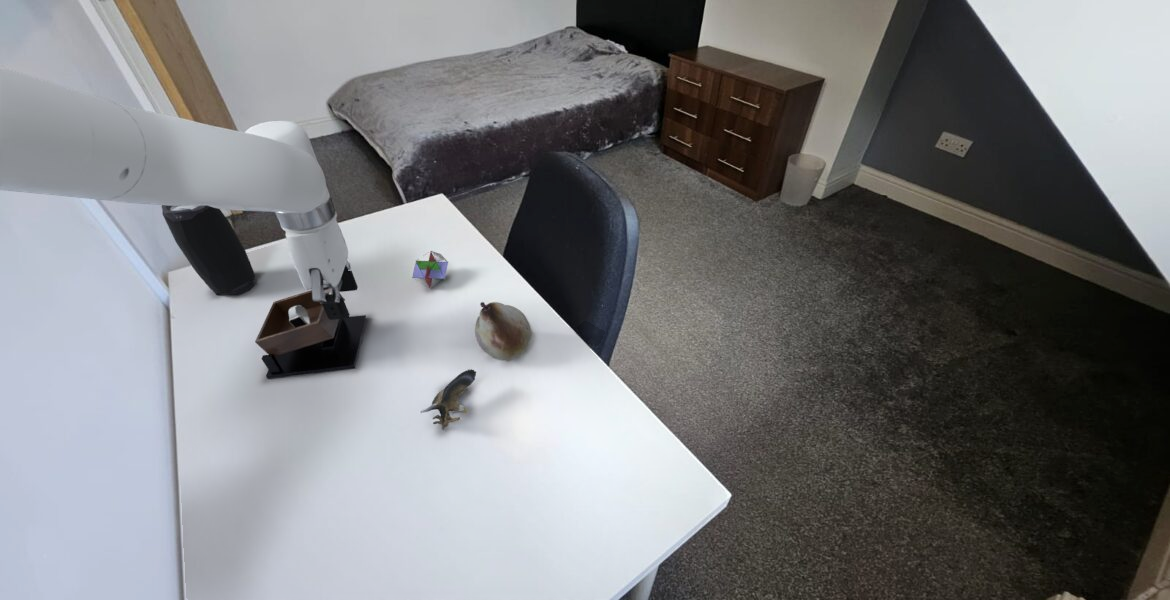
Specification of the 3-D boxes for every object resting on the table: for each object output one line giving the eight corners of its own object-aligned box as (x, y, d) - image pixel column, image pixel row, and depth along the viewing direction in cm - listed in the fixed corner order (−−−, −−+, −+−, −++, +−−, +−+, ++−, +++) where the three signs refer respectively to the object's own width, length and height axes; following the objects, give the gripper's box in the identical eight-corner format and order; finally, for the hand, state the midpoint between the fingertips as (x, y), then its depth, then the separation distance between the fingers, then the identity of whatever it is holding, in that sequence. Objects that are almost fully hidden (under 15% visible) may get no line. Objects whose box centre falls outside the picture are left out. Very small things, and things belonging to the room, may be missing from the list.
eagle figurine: (478, 429, 72) (488, 376, 77) (444, 410, 67) (457, 356, 73) (442, 437, 75) (454, 387, 81) (408, 420, 70) (423, 368, 76)
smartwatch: (302, 319, 83) (287, 304, 80) (314, 315, 83) (300, 299, 80) (299, 333, 80) (284, 317, 77) (312, 328, 80) (297, 313, 77)
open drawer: (271, 357, 78) (244, 333, 74) (288, 317, 86) (264, 292, 82) (352, 332, 78) (329, 306, 74) (361, 294, 85) (342, 268, 81)
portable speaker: (265, 270, 101) (221, 187, 89) (250, 298, 95) (200, 213, 82) (221, 273, 100) (171, 190, 87) (203, 302, 93) (145, 216, 80)
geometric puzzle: (441, 290, 95) (441, 250, 94) (407, 289, 95) (407, 249, 94) (451, 288, 102) (452, 251, 101) (419, 287, 102) (420, 250, 101)
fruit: (468, 345, 86) (458, 295, 78) (511, 322, 91) (505, 273, 83) (500, 378, 81) (492, 328, 73) (543, 352, 85) (541, 302, 78)
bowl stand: (267, 379, 79) (255, 360, 76) (289, 326, 89) (279, 308, 86) (355, 368, 81) (347, 350, 78) (367, 318, 91) (360, 300, 88)
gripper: (295, 185, 74) (332, 274, 86) (257, 247, 61) (307, 342, 73) (345, 182, 75) (375, 271, 87) (318, 242, 62) (358, 337, 74)
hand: (344, 302), depth 80 cm, fingers closed on open drawer, 6 cm apart
